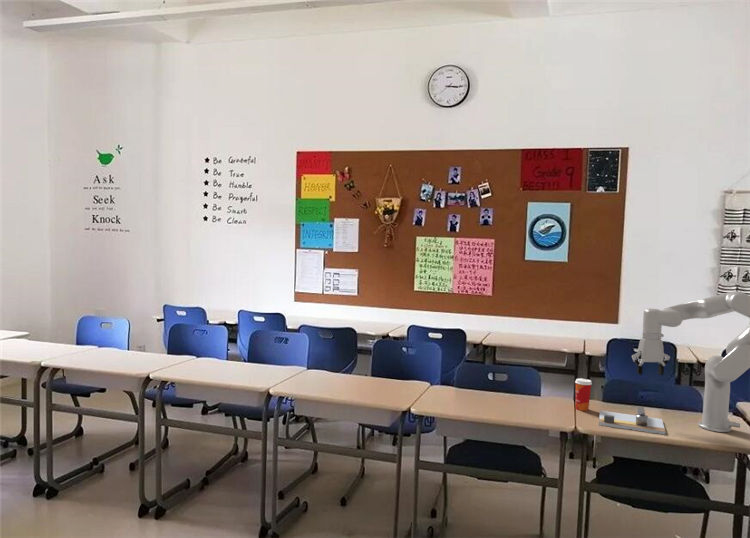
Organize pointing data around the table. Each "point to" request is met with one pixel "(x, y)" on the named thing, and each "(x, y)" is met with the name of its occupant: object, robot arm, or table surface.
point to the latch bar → (641, 416)
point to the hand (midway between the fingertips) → (650, 374)
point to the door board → (630, 422)
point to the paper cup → (583, 394)
